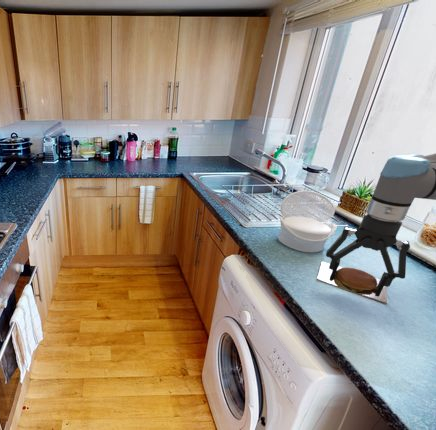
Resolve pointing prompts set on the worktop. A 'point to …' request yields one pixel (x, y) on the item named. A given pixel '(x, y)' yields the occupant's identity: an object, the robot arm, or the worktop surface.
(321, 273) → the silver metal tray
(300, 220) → the plastic deli container
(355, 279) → the burger
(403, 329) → the worktop surface
